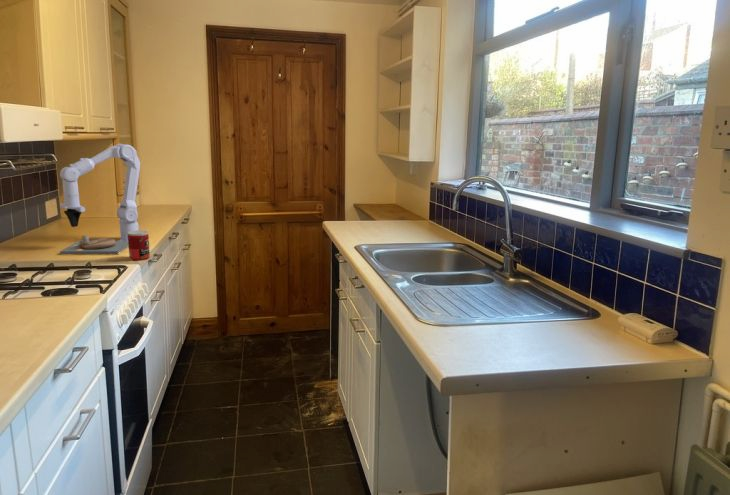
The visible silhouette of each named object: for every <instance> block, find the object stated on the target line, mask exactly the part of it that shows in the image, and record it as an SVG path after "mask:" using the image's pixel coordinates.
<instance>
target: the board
mask: <svg viewBox="0 0 730 495" xmlns="http://www.w3.org/2000/svg"><path fill="white" fill-rule="evenodd" d="M81 241H82V240H77V241H76V242H74V243H72V244H70V245H69V246H67V247H66V248H64V249H61V250H60V255H61V254H118V253H119V252H121V251H122V250H124V249H125V248H126V249H128V248H129V247H128V246H129V245H128V241H118V240H115V245H114V246H111V247H108V248H102V249H83V248H80V247H79V242H81ZM127 247H128V248H127ZM126 249H125V250H126ZM125 250H124V251H125ZM122 252H123V251H122ZM122 252H121V253H122ZM118 255H119V254H118Z"/></svg>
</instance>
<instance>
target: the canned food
mask: <svg viewBox="0 0 730 495" xmlns="http://www.w3.org/2000/svg"><path fill="white" fill-rule="evenodd" d="M149 240H150V239H149V231H146V230H140V229H139V230H137V231H130V232H128V245H129V247H128V254H129V258H131V259H132V261H138V262H139V261H146V260H149V259H150V257H151V256H150V255H151V254H150V241H149ZM131 259H130V260H131Z"/></svg>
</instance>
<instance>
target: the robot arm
mask: <svg viewBox="0 0 730 495" xmlns="http://www.w3.org/2000/svg"><path fill="white" fill-rule="evenodd" d="M112 158H115V159H116V158H118V159H120V160H121V161H123V162H124V163H125V165H126V166H127V169H126V174H125V175H126V176H125V181H124V182H125V183H124V188H123V198H122V200H121V201H120V203H119V207H118V208H117V211H116V216H117V217H118V219H119V231H120V234H119V235H120V239H118V240H117V241H128V232H130V231H137V230H140V229H139V228H140V226H139V222H138V221H137V219H138V217H139V212H138V210H137V209H138V206H137V203H136V198H137V191H138V185H139V183H138V182H139V179H140V177H139V176H140V171H141V161H140V159H139V156H138V151H137V149H135V148H134V146H132V145H130V144H123V143H116V145H112V146H110V147H108V148H106V149H105V150H103V151H100V152H99V153H98V154H96V155H94V156H92V157H91V158H89V157H81V158H79V160H78V161H76V162H74V163H70V164H69V166H65V167H63V168H61V170H59V171H60V173H59V177H60V178H61V179H62V180H61V181H62V191H63V200H64V203H60V204H59V206H60V209H61V210H62V209H65V210H64V214H65V216H66V217H67V219H68V221H69V223H70V226H71V227H72V228H76V227H78V226H79V219H80V217H81V215H82V213H83V212H84V213H85V212H86V208H85V206H83V205H81V203H80V194H79V184H78V179H79V177H82V176H83V175H86V174H87V173H89V172H92V171H93V170H94V169H95V166H96V165H99V164H101V163H103V162H104V161H107V160H109V159H112Z"/></svg>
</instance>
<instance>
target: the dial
mask: <svg viewBox="0 0 730 495" xmlns="http://www.w3.org/2000/svg"><path fill="white" fill-rule="evenodd" d="M80 241H81V242H79V247H80V248H83V249H102V248H108V247H111V246H114V245H115V241H116V240H115V239H114V238H109V237H100V238H98V237H97V238H90V236H89V235H82V240H80Z"/></svg>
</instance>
